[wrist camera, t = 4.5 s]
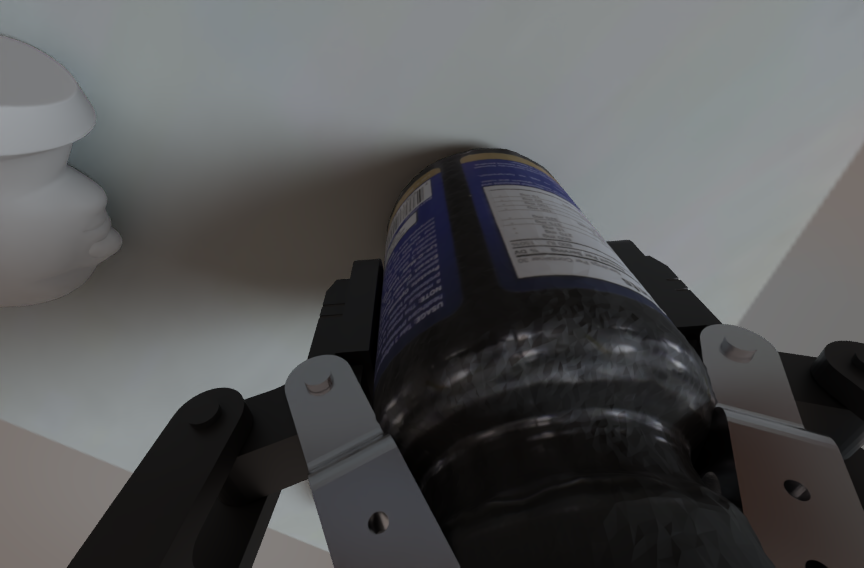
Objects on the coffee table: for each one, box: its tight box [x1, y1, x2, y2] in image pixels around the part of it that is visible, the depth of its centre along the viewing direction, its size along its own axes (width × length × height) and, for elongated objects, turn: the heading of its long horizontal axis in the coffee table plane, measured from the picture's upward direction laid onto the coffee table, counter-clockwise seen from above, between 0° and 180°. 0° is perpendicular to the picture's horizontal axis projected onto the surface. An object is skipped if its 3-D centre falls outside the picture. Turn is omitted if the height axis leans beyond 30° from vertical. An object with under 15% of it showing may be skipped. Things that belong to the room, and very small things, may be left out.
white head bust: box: [0, 35, 122, 307], centre depth 11 cm, size 4×8×5 cm
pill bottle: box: [371, 149, 776, 568], centre depth 9 cm, size 6×6×11 cm
